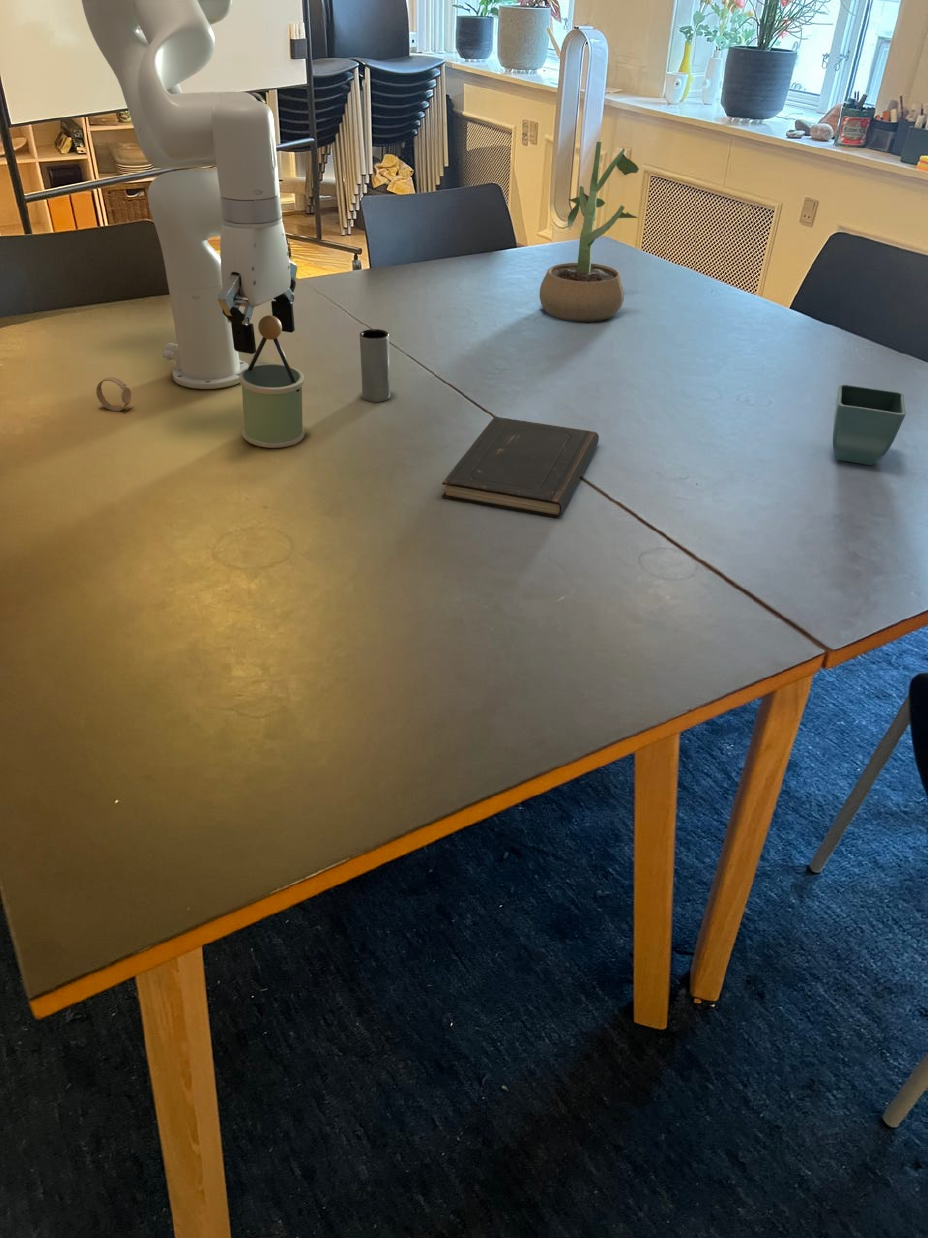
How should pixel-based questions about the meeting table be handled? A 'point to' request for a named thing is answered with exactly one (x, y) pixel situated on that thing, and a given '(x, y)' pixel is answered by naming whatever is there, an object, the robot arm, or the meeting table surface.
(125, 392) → the brown ring
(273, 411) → the green hollow rimmed cylinder
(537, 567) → the meeting table surface
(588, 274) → the potted plant
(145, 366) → the meeting table surface
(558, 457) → the hardcover book
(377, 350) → the grey hollow tube
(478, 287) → the meeting table surface
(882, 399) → the flower pot
